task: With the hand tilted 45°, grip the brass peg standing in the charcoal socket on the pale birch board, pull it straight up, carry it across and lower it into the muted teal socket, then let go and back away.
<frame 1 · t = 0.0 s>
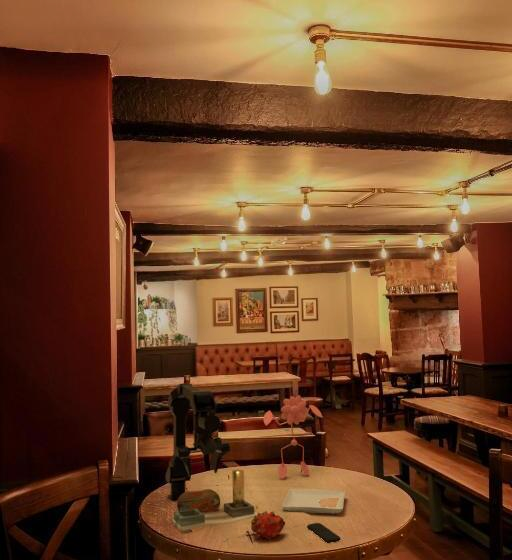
hand: (202, 474, 196), 15 cm above the table, tool pointing down, fingers open, 9 cm apart
salad plate: (315, 507, 205), on the table
dragon fruit: (268, 537, 176), on the table
pink flower figurine: (296, 479, 242), on the table
tin: (198, 515, 199), on the table
dock board: (217, 520, 193), on the table
brass peg: (238, 512, 197), point 1 cm above the table, touching dock board
remote control: (323, 536, 178), on the table
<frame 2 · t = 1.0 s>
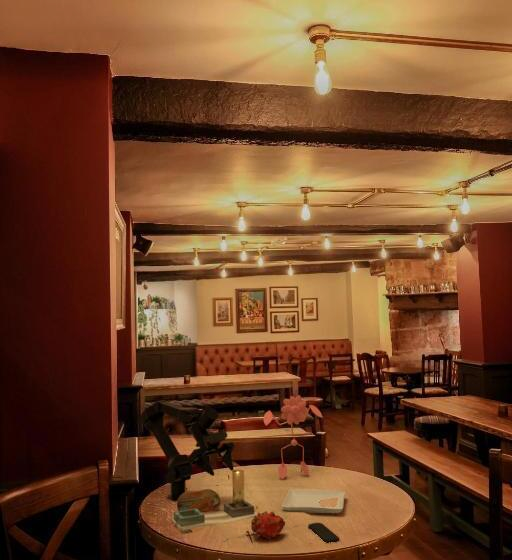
hand: (223, 472, 203), 13 cm above the table, tool tilted 45°, fingers open, 9 cm apart
nothing on the table moved.
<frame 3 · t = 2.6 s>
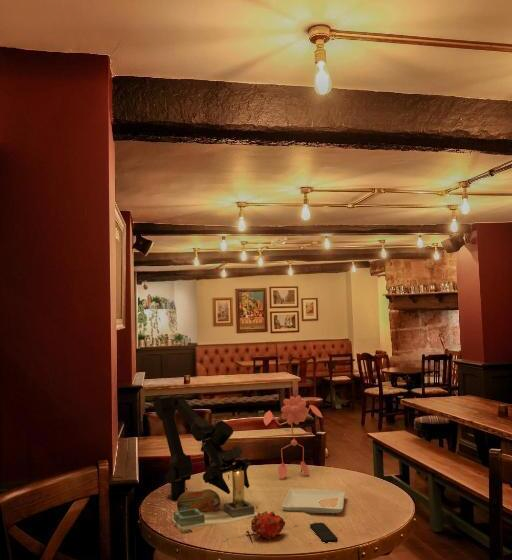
hand: (239, 490, 198), 9 cm above the table, tool tilted 45°, fingers open, 9 cm apart
nothing on the table moved.
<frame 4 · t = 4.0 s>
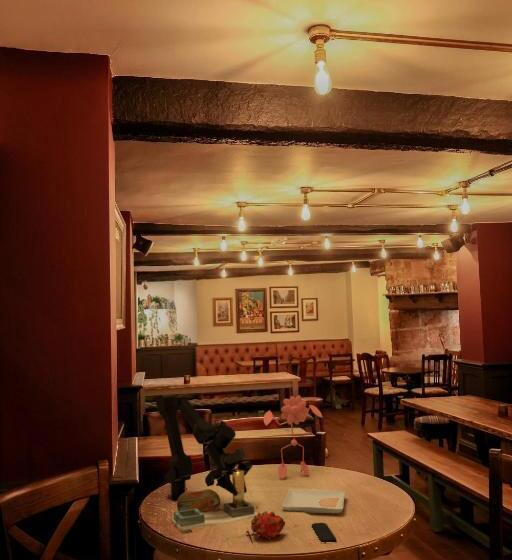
hand: (241, 493, 197), 8 cm above the table, tool tilted 45°, fingers closed on brass peg, 4 cm apart
brass peg: (238, 512, 197), point 1 cm above the table, touching dock board, gripper
everything else where it was.
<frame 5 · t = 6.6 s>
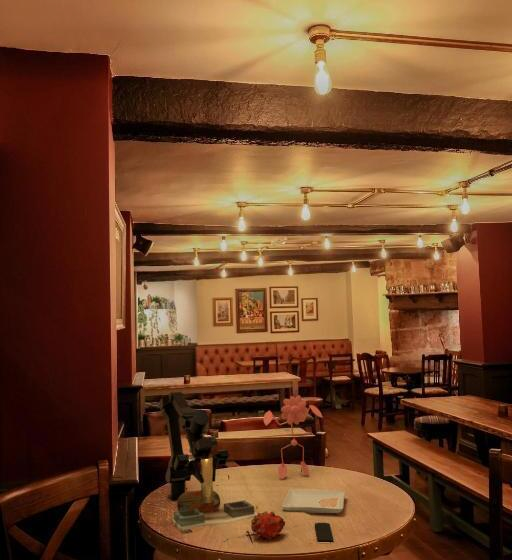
hand: (208, 482, 191), 13 cm above the table, tool tilted 45°, fingers closed on brass peg, 4 cm apart
brass peg: (207, 501, 192), point 7 cm above the table, touching gripper
when the fingers open (8 cm above the table, at t = 9.0 s): brass peg stays where it is, resting on dock board.
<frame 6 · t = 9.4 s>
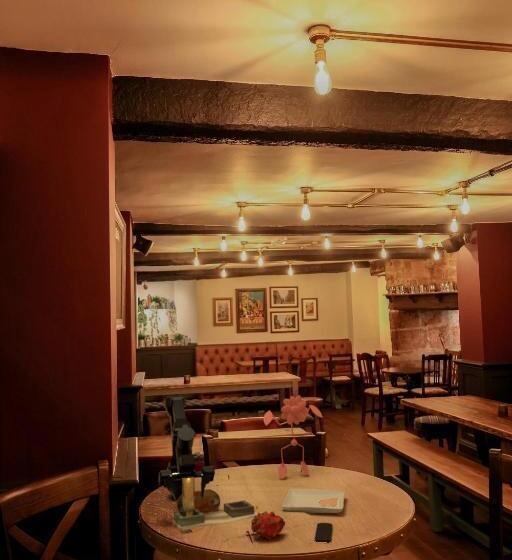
hand: (189, 498, 189), 9 cm above the table, tool tilted 45°, fingers open, 8 cm apart
brass peg: (189, 521, 190), point 1 cm above the table, touching dock board
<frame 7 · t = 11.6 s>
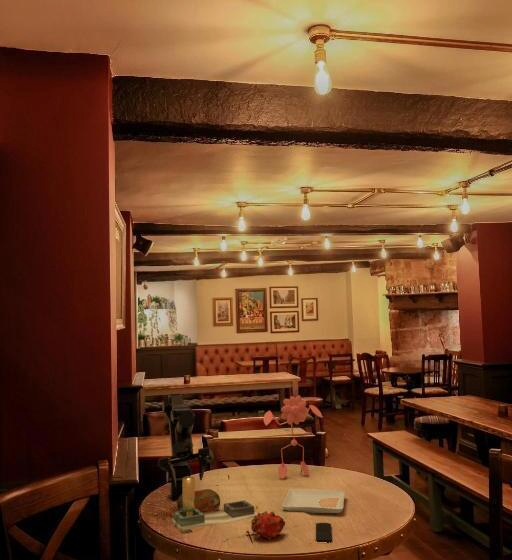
hand: (187, 483, 196), 12 cm above the table, tool tilted 35°, fingers open, 9 cm apart
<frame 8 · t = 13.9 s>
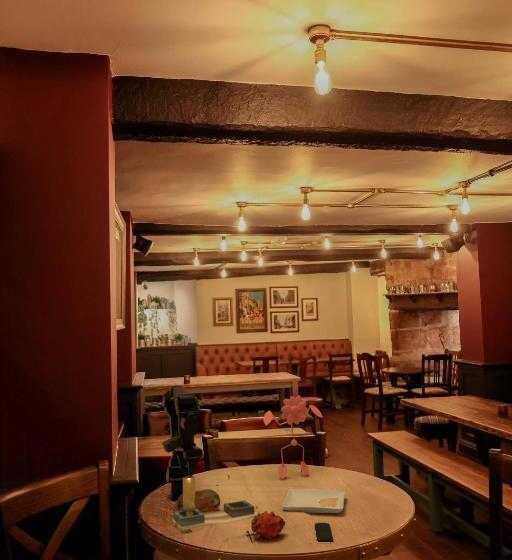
hand: (186, 473, 205), 13 cm above the table, tool pointing down, fingers open, 9 cm apart
at the end: brass peg 0.0 cm from the target spot, point 1.0 cm above the table; brass peg tilted 1°; the gripper is holding nothing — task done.
